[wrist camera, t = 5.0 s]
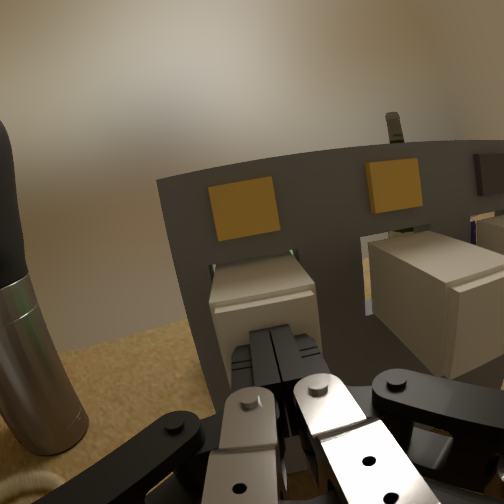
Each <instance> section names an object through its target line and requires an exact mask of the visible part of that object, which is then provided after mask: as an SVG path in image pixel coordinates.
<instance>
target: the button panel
mask: <svg viewBox="0 0 504 504" xmlns="http://www.w3.org/2000/svg"><path fill="white" fill-rule="evenodd" d="M156 181H157V186H158V192H159V197H160V202H161V207H162V211H163V217H164V221H165V226H166V231H167V235H168V240H169V244H170V249H171V253H172V258H173V262H174V266H175V270H176V274H177V278H178V282H179V287H180V291H181V295H182V298H183V302H184V306H185V309H186V314H187V318H188V321H189V325H190V329H191V332H192V336H193V339H194V343H195V346H196V350H197V353H198V357H199V360H200V364H201V367H202V370H203V373H204V377H205V380H206V383H207V386H208V390H209V393H210V396H211V399H212V402H213V405H214V408H215V411H216V414H217V413H219V412H221V411H222V410H223V409H224V407H225V402H226V400H227V398H228V397H229V396H230V395H231V389H230V385H229V381H228V378H227V374H226V370H225V366H224V362H223V359H222V355H221V351H220V347H219V343H218V339H217V335H216V331H215V327H214V323H213V319H212V315H211V311H210V306H209V299H210V294H211V289H212V283H213V278H214V270H213V266H212V265H213V264H218V263H224V262H229V261H234V260H240V259H245V258H251V257H256V256H261V255H267V254H272V253H278V252H283V251H288V250H292V251H293V256H294V257H295V259H296V260H297V261H298V262H299V264H300V265H301V266H302V267H303V269H304V270H305V271H306V272H307V274H308V275H309V276H310V278H311V279H312V280H313V281H314V283H315V288H316V296H317V305H318V314H319V324H320V333H321V344H322V354H323V358H324V360H325V362H326V364H327V366H328V368H329V370H330V372H331V374H332V375H334V376H336V377H338V378H339V379H340V380H341V381H342V382H343V384H344V385H347V386H353V387H360V386H372V383H373V380H374V378H375V377H376V376H377V375H379V374H380V373H382V372H384V371H387V370H390V369H406V370H410V371H414V372H419V373H423V374H427V375H431V376H434V375H433V374H432V373H431V371H430V370H429V369H428V368H427V367H426V366H425V365H424V364H423V363H422V362H421V361H420V360H419V359H418V358H417V357H416V356H415V355H414V354H413V353H412V352H411V351H410V350H409V349H408V348H407V347H406V346H405V345H404V344H403V343H402V341H401V340H400V339H399V338H398V337H397V336H396V335H395V334H394V333H393V332H392V331H391V330H390V329H389V328H388V327H387V326H386V325H385V324H384V323H383V322H382V321H381V320H380V319H379V318H378V317H377V316H376V315H375V314H374V313H373V312H372V299H370V300H366V301H365V294H364V278H363V265H362V253H361V243H360V237H362V236H368V235H373V234H379V233H384V232H389V231H395V230H400V229H405V228H410V227H413V229H414V233H419V232H424V231H432V232H435V233H439V234H442V235H445V236H448V237H451V238H454V239H458V240H461V241H464V242H467V243H470V244H471V225H470V216H472V215H478V214H483V213H488V212H493V211H495V217H496V216H501V215H504V140H454V141H427V142H409V143H393V144H382V145H381V144H380V145H369V146H358V147H348V148H340V149H330V150H322V151H314V152H307V153H299V154H292V155H286V156H279V157H272V158H266V159H259V160H253V161H247V162H241V163H236V164H231V165H225V166H220V167H214V168H209V169H204V170H200V171H194V172H190V173H185V174H180V175H176V176H171V177H167V178H163V179H158V180H156ZM440 378H444V379H447V378H446V377H445V376H441V377H440ZM503 379H504V354H503V355H501V356H499V357H497V358H495V359H493V360H491V361H489V362H487V363H485V364H483V365H481V366H479V367H477V368H475V369H473V370H471V371H469V372H467V373H465V374H463V375H460V376H458V377H456V378H454V379H452V380H453V381H458V382H463V383H467V384H472V385H477V386H482V387H487V388H493V389H498V390H501V386H502V383H503ZM285 410H286V408H285ZM286 416H287V413H286ZM287 422H288V428H289V434H290V437H288V438H284V439H285V445H286V451H285V457H286V468H287V474H290V473H295V472H300V471H305V470H308V467H307V465H306V462H305V459H304V457H303V454H302V448H301V441H300V437H299V435H298V436H293V437H292V434H291V430H290V426H289V421H288V417H287ZM414 427H416V428H420V429H423V430H426V431H430V430H432V429H435V427H431V426H427V425H424V424H421V423H417V422H415V423H414Z"/></svg>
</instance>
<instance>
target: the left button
mask: <svg viewBox="0 0 504 504" xmlns="http://www.w3.org/2000/svg"><path fill="white" fill-rule="evenodd" d="M209 306H210V311H211V315H212V319H213V323H214V327H215V331H216V335H217V339H218V343H219V347H220V351H221V355H222V359H223V362H224V366H225V370H226V374H227V378H228V381H229V385H230V389H231V354H232V353H233V351H234V350H235V348H236V347H237V346H242V345H248V344H250V339H249V331H253V330H258V329H264V328H268V330H269V335H270V339H271V334H270V327H274V326H279V325H284V324H289V326H290V328H291V331H292V333H293V336H294V335H299V334H304V333H305V334H307V335H309V336H310V337H312V338H314V340H315V342H316V344H317V346H318V348H319V350H320V352H321V354H322V344H321V333H320V324H319V314H318V305H317V296H316V288H315V283H314V281H313V280H312V279H311V278H310V276H309V275H308V274H307V272H306V271H305V270H304V269H303V267H302V266H301V265H300V264H299V262H298V261H297V260H296V259H295V257H294V256H293V255H292V253H291V252H290V251H289V250H288V251H283V252H278V253H272V254H267V255H261V256H256V257H251V258H245V259H240V260H234V261H229V262H224V263H218V264H216V268H215V273H214V278H213V283H212V289H211V294H210V299H209ZM271 343H272V340H271ZM272 347H273V346H272ZM273 352H274V351H273ZM322 356H323V354H322Z"/></svg>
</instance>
